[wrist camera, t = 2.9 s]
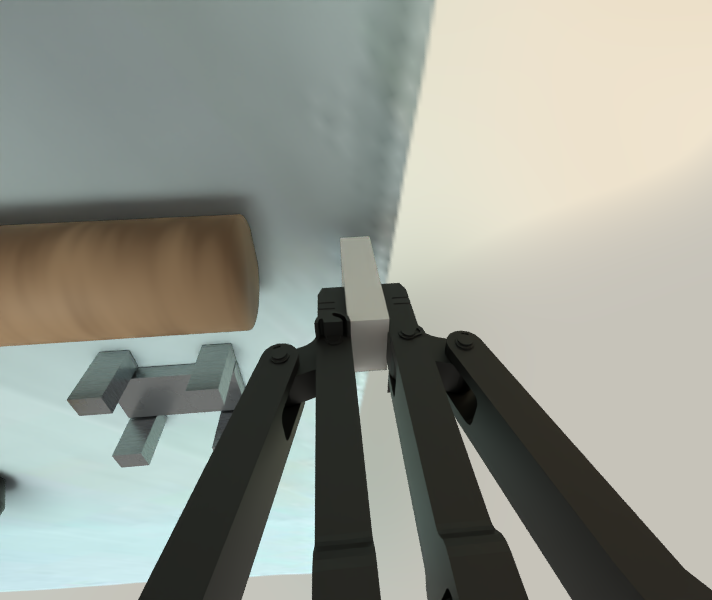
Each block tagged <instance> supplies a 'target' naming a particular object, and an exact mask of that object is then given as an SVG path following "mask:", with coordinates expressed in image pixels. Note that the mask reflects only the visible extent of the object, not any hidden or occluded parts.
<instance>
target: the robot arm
mask: <svg viewBox="0 0 712 600" xmlns="http://www.w3.org/2000/svg"><path fill="white" fill-rule="evenodd" d="M340 247H341V270H342V287H335V288H322V290H321V291H320V293H319V294H318V317H317V318H316V320H315V323H314V324H315V333H316V338H315V339H314V340H313V341H312V342H311V343H310V344H308V345H306V346H303V347H301V348H297V349H296V348H295V347H293V346H292V345H289V344H276V345H273V346H271V347H269V348H268V349H266V350H265V351H264V353H263V354H262V356H261V358H260V360H259V362H258V364H257V366H256V368H255V369H254V371H253V373H252V375H251V377H250V379H249V381H248V383H247V385H246V387H245V389H244V391H243V393H242V395H241V397H240V399H239V401H238V403H237V405H236V407H235V409H234V411H233V413H232V415H231V417H230V419H229V421H228V423H227V425H226V427H225V429H224V431H223V433H222V435H221V437H220V439H219V441H218V443H217V445H216V447H215V449H214V451H213V453H212V455H211V457H210V459H209V461H208V463H207V464H206V466H205V468H204V470H203V472H202V474H201V476H200V478H199V480H198V482H197V484H196V486H195V488H194V490H193V492H192V494H191V496H190V498H189V500H188V502H187V504H186V506H185V508H184V510H183V512H182V514H181V516H180V518H179V520H178V522H177V524H176V526H175V528H174V530H173V532H172V534H171V536H170V538H169V540H168V542H167V544H166V546H165V548H164V550H163V552H162V554H161V556H160V558H159V560H158V561H157V563H156V565H155V567H154V569H153V571H152V573H151V575H150V577H149V579H148V581H147V583H146V585H145V587H144V589H143V591H142V593H141V596H140V597H139V599H138V600H241V599H242V596H243V593H244V590H245V587H246V584H247V580H248V578H249V575H250V572H251V568H252V565H253V562H254V559H255V556H256V553H257V550H258V547H259V544H260V541H261V538H262V534H263V531H264V528H265V525H266V522H267V519H268V516H269V513H270V510H271V507H272V504H273V501H274V497H275V494H276V491H277V488H278V485H279V482H280V479H281V476H282V473H283V470H284V467H285V463H286V460H287V457H288V454H289V451H290V448H291V445H292V442H293V439H294V436H295V433H296V430H297V426H298V423H299V420H300V417H301V414H302V411H303V408H304V405H305V401H307V400H310V399H312V398H315V397H316V448H315V546H314V551H313V566H312V600H381V596H380V588H379V578H378V569H377V560H376V553H375V547H374V542H373V536H372V528H371V518H370V509H369V500H368V491H367V481H366V472H365V463H364V453H363V444H362V435H361V425H360V416H359V407H358V397H357V388H356V379H355V372H362V371H375V370H387V365H388V369H389V376H388V377H389V378H388V392H391V397H392V402H393V407H394V412H395V417H396V423H397V428H398V433H399V438H400V442H401V448H402V454H403V459H404V464H405V469H406V474H407V479H408V484H409V489H410V495H411V500H412V505H413V510H414V515H415V521H416V526H417V531H418V536H419V541H420V546H421V551H422V556H423V562H424V567H425V575H426V591H427V599H428V600H528V597H527V594H526V591H525V589H524V586H523V583H522V581H521V578H520V575H519V572H518V569H517V567H516V564H515V561H514V558H513V556H512V553H511V551H510V548H509V546H508V544H507V541H506V540H505V538H504V537H503V535H502V534H501V533H500V532H499V531H497V530H496V529H495V528H494V526H493V525H492V523H491V520H490V517H489V514H488V512H487V509H486V506H485V503H484V500H483V497H482V494H481V491H480V489H479V486H478V483H477V480H476V477H475V474H474V471H473V469H472V466H471V463H470V460H469V457H468V454H467V451H466V448H465V445H464V443H463V440H462V437H461V434H460V431H459V428H458V425H457V422H456V420H455V418H456V419H457V421H458V423H459V424H460V426H461V427H462V429H463V430H464V432H465V433H466V435H467V437H468V438H469V440H470V441H471V443H472V444H473V446H474V447H475V449H476V450H477V452H478V454H479V455H480V457H481V458H482V460H483V461H484V463H485V465H486V466H487V468H488V469H489V471H490V472H491V474H492V476H493V477H494V479H495V480H496V482H497V483H498V485H499V486H500V488H501V489H502V491H503V493H504V494H505V496H506V497H507V499H508V501H509V502H510V504H511V505H512V507H513V508H514V510H515V511H516V513H517V514H518V516H519V518H520V519H521V521H522V522H523V524H524V525H525V527H526V529H527V530H528V532H529V533H530V535H531V536H532V538H533V539H534V541H535V542H536V544H537V545H538V547H539V549H540V550H541V552H542V554H543V555H544V556H545V558H546V559H547V561H548V563H549V564H550V566H551V567H552V569H553V570H554V572H555V574H556V575H557V577H558V578H559V580H560V582H561V583H562V585H563V586H564V588H565V589H566V591H567V593H568V594H569V596H570V597H571V599H572V600H712V590H711V589H710V588H708V587H707V586H706V585H704V584H703V583H702V582H701V581H699V580H698V579H697V578H696V577H694V576H693V575H691V574H690V573H689V572H688V571H687V570H685V569H684V568H683V567H682V566H681V564H680V563H679V562H678V561H677V560H676V559H675V558H674V556H673V555H672V554H671V553H670V552H669V551H668V550H667V548H665V546H664V545H663V544H662V543H661V542H660V541H659V539H658V538H657V537H656V536H655V535H654V534H653V533H652V532H651V530H649V528H648V527H647V526H646V525H645V524H644V523H643V521H642V520H641V519H640V518H639V517H638V516H637V515H636V514H635V512H634V511H633V510H632V509H631V508H630V507H629V506H628V505H627V504H626V502H624V500H623V499H622V498H621V497H620V496H619V495H618V493H617V492H616V491H615V490H614V489H613V488H612V487H611V485H610V484H609V483H608V482H607V481H606V480H605V479H604V478H603V476H602V475H601V474H600V473H599V472H598V471H597V470H596V469H595V468H594V467H593V465H592V464H591V463H590V462H589V461H588V460H587V459H586V457H585V456H584V455H583V454H582V453H581V452H580V451H579V450H578V448H577V447H576V446H575V445H574V444H573V443H572V442H571V441H570V439H569V438H568V437H567V436H566V435H565V434H564V433H563V432H562V430H561V429H560V428H559V427H558V426H557V425H556V424H555V423H554V421H553V420H552V419H551V418H550V417H549V416H548V415H547V414H546V413H545V411H544V410H543V409H542V408H541V407H540V406H539V404H538V403H537V402H536V401H535V400H534V399H533V398H532V397H531V395H529V393H528V392H527V391H526V390H525V389H524V388H523V386H522V385H521V384H520V383H519V382H518V381H517V380H516V379H515V377H514V376H512V374H511V373H510V372H509V371H508V370H507V368H506V367H505V366H504V365H503V364H502V363H501V362H500V361H499V359H498V358H497V357H496V356H495V355H494V354H493V353H492V352H491V351H490V349H489V348H488V347H487V346H486V345H485V344H484V343H483V341H482V340H481V339H480V338H479V337H477V336H476V335H475V334H472V333H470V332H466V331H455V332H453V333H450V334H449V336H448V337H447V339H445V338H438V337H434V336H431V335H428V334H426V333H425V331H424V330H423V328H422V327H420V326H418V324H417V321H416V318H415V315H414V312H413V309H412V306H411V304H410V300H409V298H408V294H407V291H406V289H405V288H404V287H403V286H402V285H401V284H400V283H391V284H381V282H380V278H379V274H378V270H377V266H376V262H375V257H374V253H373V249H372V245H371V241H370V237H369V236H366V237H346V238H340ZM454 416H455V417H454Z"/></svg>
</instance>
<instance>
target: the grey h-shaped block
mask: <svg viewBox="0 0 712 600" xmlns="http://www.w3.org/2000/svg"><path fill="white" fill-rule="evenodd" d="M244 389H245V387H244V383H243V380H242V377H241V374H240V371H239V367H238V364H237V361H236V358H235V355H234V352H233V348H232V345H231V344H216V345H202V347H201V350H200V353H199V355H198V358H197V361H196V363H195V364H187V365H173V366H159V367H144V368H137V364H136V362H135V360H134V359H133V357H132V355H131V353H130V352H129V350H127V351H112V352H99V353H98V355H97V356H96V358H95V359H94V361H93V362H92V363H91V365H90V366H89V368H88V369H87V371H86V372H85V374H84V375H83V377H82V378H81V380H80V381H79V383H78V384H77V385H76V387H75V388H74V390H73V391H72V393H71V394H70V396H69V397H68V399H67V401H68V402H69V404H70V405H71V406H72V407H73V409H74V410H75V411H76V412H77V413H78V415H79V416H84V415H97V414H110V413H113V411H114V409H115V407H116V405H117V404H118V403H119V404H120V406H121V407H122V409H123V410H124V412H125V413H126V414H127V416H128V417H129V418H130V420H129V422H128V424H127V426H126V428H125V430H124V432H123V435H122V437H121V439H120V441H119V443H118V445H117V447H116V449H115V451H114V453H113V455H112V456H113V458H114V459H115V460H116V461H117V463H118V464H119V465H120V466H121V467H132V466H144V465H149V464H150V462H151V459H152V456H153V454H154V451H155V449H156V446H157V444H158V441H159V439H160V436H161V433H162V431H163V428H164V426H165V423H166V421H167V417H166V415H172V414H185V413H198V412H211V411H221V415H220V419H219V423H218V427H217V430H216V434H215V438H214V442H213V446H212V448H213V451H214V449H215V447H216V445H217V443H218V441H219V439H220V437H221V435H222V433H223V431H224V429H225V427H226V425H227V423H228V421H229V419H230V417H231V415H232V413H233V411H234V409H235V407H236V405H237V403H238V401H239V399H240V397H241V395H242V393H243V391H244Z"/></svg>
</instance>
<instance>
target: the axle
mask: <svg viewBox="0 0 712 600" xmlns="http://www.w3.org/2000/svg"><path fill="white" fill-rule="evenodd" d="M258 306H259V273H258V263H257V258H256V254H255V249H254V244H253V239H252V235H251V230H250V227H249V225H248V223H247V221H246V219H245V218H244V217H243V216H242V215H241V214H235V215H214V216H192V217H170V218H149V219H127V220H106V221H84V222H62V223H41V224H19V225H0V347H1V346H16V345H32V344H47V343H62V342H78V341H93V340H109V339H124V338H139V337H155V336H170V335H186V334H201V333H216V332H232V331H247V330H251V329H252V328H253V327H254V325H255V322H256V318H257V314H258Z"/></svg>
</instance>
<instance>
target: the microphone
mask: <svg viewBox="0 0 712 600" xmlns="http://www.w3.org/2000/svg"><path fill="white" fill-rule="evenodd" d="M4 509H5V480H4V479H3V478H2V477H0V515H1V514H2V512H3V510H4Z"/></svg>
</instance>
